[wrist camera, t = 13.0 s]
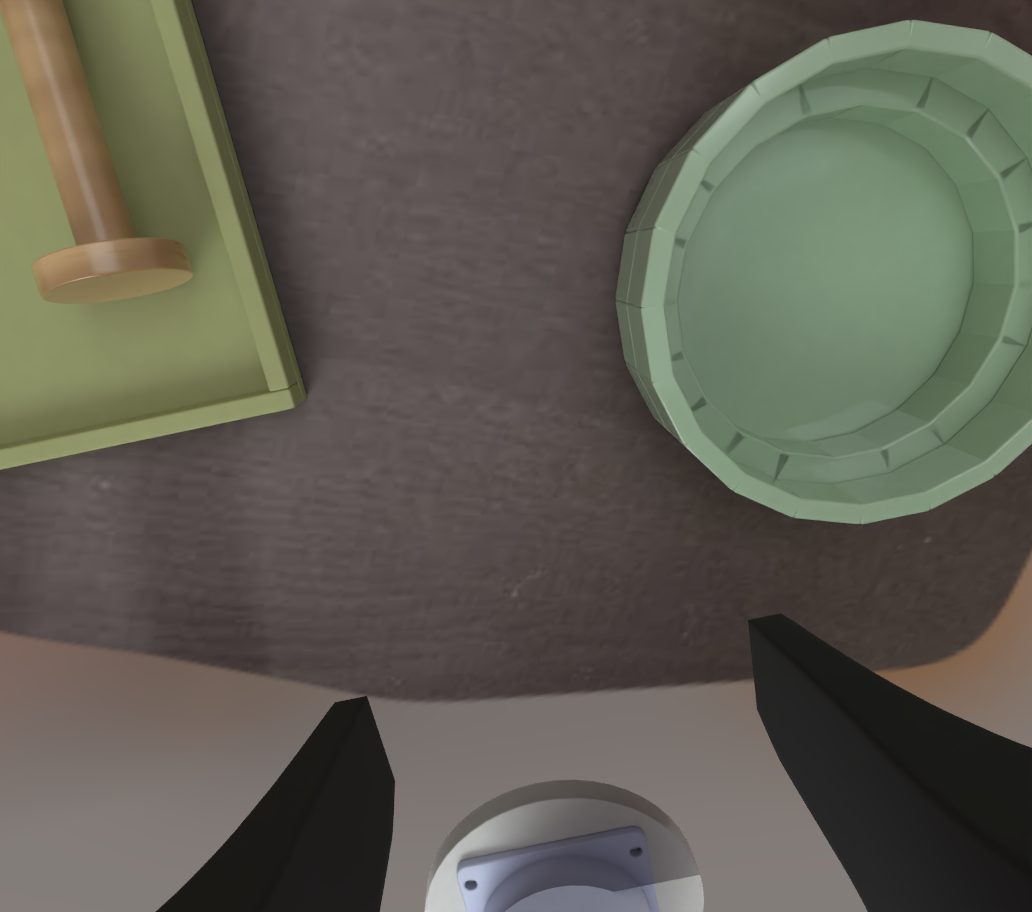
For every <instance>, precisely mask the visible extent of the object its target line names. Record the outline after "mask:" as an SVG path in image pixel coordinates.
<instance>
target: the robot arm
mask: <svg viewBox="0 0 1032 912" xmlns="http://www.w3.org/2000/svg"><path fill="white" fill-rule="evenodd" d="M748 623H749V633H750V643H751V653H752V663H753V673H754V683H755V691H756V703H757V710H758V712H759V715H760V717H761V719H762V722H763V724H764V726H765V729H766V731H767V733H768V735H769V738H770V740H771V742H772V744H773V747H774V749H775V751H776V753H777V755H778V757H779V759H780V761H781V763H782V765H783V767H784V768H785V770H786V772H787V774H788V775H789V777H790V779H791V780H792V782H793V783H794V785H795V787H796V789H797V790H798V792H799V794H800V795H801V797H802V799H803V801H804V802H805V804H806V806H807V807H808V809H809V810H810V812H811V814H812V815H813V817H814V819H815V820H816V822H817V824H818V825H819V827H820V829H821V830H822V832H823V834H824V835H825V837H826V839H827V840H828V842H829V844H830V845H831V847H832V849H833V850H834V852H835V854H836V855H837V857H838V859H839V860H840V862H841V864H842V865H843V867H844V869H845V870H846V872H847V874H848V875H849V877H850V879H851V881H852V883H853V884H854V886H855V888H856V890H857V892H858V894H859V896H860V897H861V899H862V901H863V903H864V905H865V906H866V909H867V911H868V912H1032V748H1030V747H1028V746H1025V745H1022V744H1020V743H1017V742H1015V741H1012V740H1010V739H1007V738H1005V737H1002V736H1000V735H997V734H995V733H993V732H990V731H988V730H986V729H984V728H982V727H979V726H977V725H975V724H973V723H970V722H968V721H966V720H964V719H962V718H959V717H957V716H955V715H953V714H951V713H948V712H946V711H944V710H942V709H940V708H938V707H936V706H934V705H932V704H930V703H928V702H926V701H924V700H923V699H921V698H919V697H917V696H915V695H913V694H911V693H910V692H907V691H906V690H904V689H902V688H900V687H898V686H896V685H895V684H893V683H891V682H889V681H888V680H886V679H884V678H882V677H881V676H879V675H877V674H875V673H874V672H872V671H870V670H869V669H867V668H865V667H864V666H862V665H860V664H859V663H857V662H855V661H854V660H852V659H851V658H849V657H847V656H846V655H844V654H843V653H841V652H839V651H838V650H836V649H835V648H833V647H832V646H830V645H829V644H827V643H825V642H824V641H822V640H821V639H819V638H818V637H816V636H815V635H813V634H812V633H810V632H809V631H807V630H806V629H804V628H803V627H801V626H800V625H798V624H796V623H795V622H793V621H792V620H790V619H789V618H787V617H786V616H784V615H782V614H777V615H771V616H766V617H761V618H756V619H751V620H748ZM394 788H395V780H394V777H393V774H392V771H391V768H390V764H389V762H388V759H387V755H386V752H385V749H384V747H383V744H382V741H381V738H380V734H379V731H378V728H377V725H376V722H375V719H374V716H373V713H372V710H371V707H370V705H369V701H368V698H367V696H365V697H360V698H355V699H350V700H345V701H340V702H335V703H334V704H333V706H332V707H331V708H330V710H329V711H328V712H327V714H326V715H325V716H324V718H323V719H322V720H321V722H320V723H319V725H318V726H317V727H316V729H315V730H314V731H313V733H312V734H311V736H310V737H309V738H308V739H307V741H306V742H305V744H304V745H303V746H302V748H301V749H300V751H299V752H298V753H297V754H296V756H295V757H294V758H293V760H292V761H291V762H290V764H289V765H288V766H287V768H286V769H285V770H284V772H283V773H282V774H281V776H280V777H279V778H278V779H277V781H276V782H275V784H274V785H273V786H272V787H271V789H270V790H269V791H268V792H267V793H266V795H265V796H264V797H263V798H262V799H261V801H260V802H259V803H258V804H257V805H256V807H255V808H254V809H253V810H252V811H251V813H250V814H249V815H248V816H247V817H246V819H245V820H244V821H243V822H242V823H241V825H240V826H239V827H238V829H237V830H236V831H235V832H234V833H233V834H232V835H231V836H230V838H229V839H228V840H227V841H226V842H225V843H224V844H223V845H222V847H221V848H220V849H219V850H218V851H217V852H216V853H215V854H214V855H213V856H212V857H211V858H210V859H209V860H208V862H207V863H205V865H204V866H203V867H202V868H201V869H200V870H199V871H198V872H197V873H196V874H195V875H194V876H193V877H192V878H191V879H190V880H189V881H188V882H187V883H186V884H185V885H184V886H183V887H182V888H181V889H180V890H179V891H178V892H177V893H176V894H175V895H174V896H172V898H170V899H169V900H168V901H167V902H166V903H165V904H164V905H163V906H162V907H161V908H159V909H158V910H157V911H156V912H380V906H381V901H382V895H383V889H384V883H385V877H386V871H387V865H388V859H389V853H390V846H391V841H392V832H393V816H394V792H395V791H394V790H395V789H394ZM634 847H639V848H637V849H632V848H634ZM457 880H458V883H459V887H460V890H461V894H462V897H463V901H464V904H465V908H466V911H467V912H659V906H658V901H657V895H656V890H655V885H654V879H653V874H652V869H651V863H650V858H649V853H648V847H647V842H646V837H645V834H644V832H643V830H642V829H641V828H640V827H637V826H630V827H625V828H620V829H615V830H610V831H605V832H600V833H595V834H590V835H585V836H580V837H575V838H570V839H565V840H560V841H555V842H550V843H545V844H540V845H535V846H530V847H525V848H520V849H515V850H510V851H505V852H500V853H495V854H490V855H485V856H480V857H475V858H470V859H465V860H463V861H461V862H460V863H459V864H458V866H457ZM468 880H474V881H473V882H469V881H468Z"/></svg>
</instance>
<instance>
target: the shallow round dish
mask: <svg viewBox="0 0 1032 912" xmlns="http://www.w3.org/2000/svg"><path fill="white" fill-rule="evenodd" d="M657 167H658V168H656V169H655V170H654V172H653V174H652V176H651V178H650V181H649V183H648V185H647V187H646V189H645V191H644V193H643V195H642V198H641V200H640V202H639V204H638V206H637V208H636V210H635V212H634V214H633V217H632V219H631V221H630V223H629V225H628V227H627V233H626V234H625V237H624V243H623V250H622V257H621V264H620V270H619V277H618V284H617V290H616V299H617V300H616V308H617V315H618V321H619V327H620V333H621V340H622V346H623V352H624V359H625V361H626V364H627V367H628V369H629V371H630V373H631V375H632V377H633V379H634V381H635V383H636V385H637V387H638V389H639V391H640V392H641V394H642V396H643V398H644V400H645V402H646V404H647V406H648V408H649V410H650V412H651V414H652V415H653V416H654V418H655V419H656V420H657V421H658V422H659V423H660V424H661V425H662V426H663V427H665V428H666V429H667V430H668V431H669V432H670V433H671V434H672V435H673V436H674V437H675V438H676V439H677V440H678V441H679V442H680V443H682V444H683V445H684V446H685V447H686V448H687V449H688V450H689V451H690V452H691V453H692V454H693V455H694V456H695V457H696V458H697V459H699V460H700V461H701V462H702V463H703V464H704V465H705V466H706V467H707V468H708V469H709V470H710V471H711V472H712V473H713V474H715V475H716V476H717V477H718V478H719V479H720V480H721V481H722V482H723V483H724V484H725V485H726V486H727V487H728V488H729V489H730V490H733V491H734V492H735V493H737V494H740V495H742V496H744V497H747V498H749V499H751V500H753V501H756V502H758V503H760V504H762V505H765V506H767V507H769V508H771V509H774V510H776V511H778V512H781V513H783V514H785V515H787V516H790V517H794V518H799V519H810V520H820V521H831V522H842V523H852V524H866V523H871V522H876V521H880V520H885V519H890V518H895V517H900V516H905V515H910V514H915V513H920V512H924V511H928V510H929V509H933V508H935V507H937V506H939V505H941V504H943V503H945V502H947V501H948V500H950V499H952V498H954V497H956V496H958V495H960V494H962V493H964V492H966V491H968V490H970V489H972V488H974V487H976V486H978V485H980V484H982V483H984V482H986V481H987V480H989V479H991V478H993V477H994V475H997V474H999V473H1000V472H1001V471H1002V470H1003V469H1004V468H1005V467H1006V466H1008V465H1009V464H1010V463H1011V462H1012V461H1013V460H1014V459H1015V458H1016V457H1018V456H1019V455H1020V454H1021V453H1022V452H1023V451H1024V450H1025V449H1026V448H1028V447H1029V446H1030V445H1031V444H1032V56H1031V55H1030V54H1028V53H1026V52H1025V51H1023V50H1021V49H1020V48H1018V47H1016V46H1015V45H1013V44H1011V43H1010V42H1008V41H1006V40H1005V39H1003V38H1001V37H999V36H998V35H996V34H994V33H990V32H989V31H986V30H979V29H972V28H966V27H959V26H952V25H946V24H939V23H932V22H926V21H919V20H904V21H899V22H895V23H890V24H885V25H881V26H876V27H871V28H867V29H862V30H857V31H853V32H848V33H843V34H839V35H834V36H830V37H828V38H827V39H823V40H821V41H819V42H818V43H816V44H814V45H813V46H811V47H809V48H807V49H806V50H804V51H802V52H801V53H799V54H797V55H796V56H794V57H792V58H791V59H789V60H787V61H786V62H784V63H782V64H781V65H779V66H777V67H775V68H774V69H772V70H770V71H769V72H767V73H765V74H764V75H762V76H760V77H759V78H757V79H755V80H754V81H752V82H751V83H749V84H748V85H746V86H744V87H743V88H741V89H740V90H738V91H737V92H735V93H734V94H732V95H731V96H729V97H728V98H726V99H725V100H723V101H722V102H720V103H719V104H717V105H716V106H714V107H713V108H711V109H710V110H708V111H707V112H706V113H705V114H703V115H702V116H701V117H700V119H699V120H698V121H697V122H696V123H695V124H694V125H693V126H692V127H691V129H690V130H689V131H688V132H687V133H686V134H685V135H684V136H683V137H682V139H681V140H680V141H679V142H678V143H677V144H676V145H675V146H674V147H673V149H672V150H671V151H670V152H669V153H668V154H667V155H666V156H665V157H664V159H663V160H662V161H661V162H660V163H659V164H658V166H657Z"/></svg>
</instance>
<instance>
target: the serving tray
mask: <svg viewBox="0 0 1032 912" xmlns="http://www.w3.org/2000/svg"><path fill="white" fill-rule="evenodd" d="M62 1H63V4H64V7H65V11H66V14H67V17H68V20H69V23H70V27H71V30H72V33H73V36H74V40H75V43H76V46H77V49H78V52H79V56H80V59H81V62H82V65H83V68H84V72H85V75H86V78H87V81H88V84H89V88H90V91H91V94H92V97H93V100H94V104H95V107H96V110H97V113H98V116H99V120H100V123H101V126H102V129H103V132H104V136H105V139H106V142H107V145H108V148H109V152H110V155H111V158H112V161H113V164H114V168H115V171H116V174H117V177H118V180H119V184H120V187H121V190H122V193H123V196H124V200H125V203H126V206H127V209H128V212H129V216H130V219H131V222H132V225H133V228H134V232H135V235H136V238H137V237H154V238H166V239H172V240H176V241H179V242H181V243H183V244H184V245H185V247H186V250H187V253H188V256H189V260H190V263H191V266H192V269H193V273H194V274H193V277H192V278H191V279H190V280H189V281H187V282H185V283H183V284H181V285H179V286H176V287H173V288H170V289H167V290H164V291H161V292H157V293H153V294H148V295H144V296H139V297H134V298H128V299H122V300H115V301H108V302H98V303H86V304H61V303H53V302H48V301H45V300H43V299H42V297H41V296H40V293H39V290H38V287H37V284H36V281H35V278H34V275H33V272H32V264H33V262H34V261H36V260H37V259H39V258H40V257H42V256H44V255H47V254H49V253H51V252H54V251H57V250H60V249H64V248H67V247H71V246H75V245H76V243H75V240H74V237H73V234H72V231H71V228H70V225H69V222H68V219H67V216H66V212H65V209H64V206H63V203H62V200H61V197H60V194H59V191H58V188H57V185H56V182H55V179H54V176H53V172H52V169H51V166H50V163H49V160H48V157H47V154H46V151H45V148H44V145H43V142H42V139H41V136H40V133H39V129H38V126H37V123H36V120H35V117H34V114H33V111H32V108H31V105H30V102H29V99H28V96H27V93H26V89H25V86H24V83H23V80H22V77H21V74H20V71H19V68H18V65H17V62H16V59H15V56H14V53H13V50H12V46H11V43H10V40H9V37H8V34H7V31H6V28H5V25H4V22H3V19H2V16H1V13H0V470H2V469H6V468H11V467H16V466H21V465H25V464H30V463H35V462H40V461H45V460H49V459H54V458H59V457H64V456H68V455H73V454H78V453H83V452H87V451H92V450H97V449H102V448H107V447H111V446H116V445H121V444H126V443H130V442H135V441H140V440H145V439H150V438H154V437H159V436H164V435H169V434H173V433H178V432H183V431H188V430H193V429H197V428H202V427H207V426H212V425H216V424H221V423H226V422H231V421H236V420H240V419H245V418H250V417H255V416H259V415H264V414H269V413H274V412H279V411H283V410H288V409H293V408H295V407H296V406H297V405H299V404H300V403H301V402H303V401H304V400H305V399H307V395H306V392H305V388H304V385H303V381H302V378H301V375H300V371H299V368H298V364H297V361H296V358H295V354H294V351H293V347H292V344H291V340H290V337H289V334H288V330H287V327H286V323H285V320H284V316H283V313H282V310H281V306H280V303H279V299H278V296H277V293H276V289H275V286H274V282H273V279H272V275H271V272H270V269H269V265H268V262H267V258H266V255H265V252H264V248H263V245H262V241H261V238H260V234H259V231H258V228H257V224H256V221H255V217H254V214H253V211H252V207H251V204H250V200H249V197H248V193H247V190H246V187H245V183H244V180H243V176H242V173H241V170H240V166H239V163H238V159H237V156H236V152H235V149H234V146H233V142H232V139H231V135H230V132H229V129H228V125H227V122H226V118H225V115H224V111H223V108H222V105H221V101H220V98H219V94H218V91H217V87H216V84H215V81H214V77H213V74H212V70H211V67H210V64H209V60H208V57H207V53H206V50H205V46H204V43H203V40H202V36H201V33H200V29H199V26H198V23H197V19H196V16H195V12H194V9H193V5H192V2H191V0H62Z"/></svg>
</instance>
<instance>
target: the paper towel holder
mask: <svg viewBox="0 0 1032 912" xmlns="http://www.w3.org/2000/svg"><path fill="white" fill-rule="evenodd" d="M0 13H1V16H2V19H3V22H4V25H5V28H6V31H7V34H8V37H9V40H10V43H11V46H12V50H13V53H14V56H15V59H16V62H17V65H18V68H19V71H20V74H21V77H22V80H23V83H24V86H25V89H26V93H27V96H28V99H29V102H30V105H31V108H32V111H33V114H34V117H35V120H36V123H37V126H38V129H39V133H40V136H41V139H42V142H43V145H44V148H45V151H46V154H47V157H48V160H49V163H50V166H51V169H52V172H53V176H54V179H55V182H56V185H57V188H58V191H59V194H60V197H61V200H62V203H63V206H64V209H65V212H66V216H67V219H68V222H69V225H70V228H71V231H72V234H73V237H74V240H75V243H76V245H75V246H71V247H67V248H64V249H60V250H57V251H54V252H51V253H49V254H47V255H44V256H42V257H40V258H39V259H37V260H36V261H34V262H33V264H32V272H33V275H34V278H35V281H36V284H37V287H38V290H39V293H40V296H41V297H42V299H43V300H45V301H48V302H53V303H61V304H86V303H98V302H108V301H115V300H122V299H128V298H134V297H139V296H144V295H148V294H153V293H157V292H161V291H164V290H167V289H170V288H173V287H176V286H179V285H181V284H183V283H185V282H187V281H189V280H190V279H191V278H192V277H193V274H194V273H193V269H192V266H191V263H190V260H189V256H188V253H187V250H186V247H185V245H184V244H183V243H181V242H179V241H176V240H172V239H166V238H154V237H137V238H136V235H135V232H134V228H133V225H132V222H131V219H130V216H129V212H128V209H127V206H126V203H125V200H124V196H123V193H122V190H121V187H120V184H119V180H118V177H117V174H116V171H115V168H114V164H113V161H112V158H111V155H110V152H109V148H108V145H107V142H106V139H105V136H104V132H103V129H102V126H101V123H100V120H99V116H98V113H97V110H96V107H95V104H94V100H93V97H92V94H91V91H90V88H89V84H88V81H87V78H86V75H85V72H84V68H83V65H82V62H81V59H80V56H79V52H78V49H77V46H76V43H75V40H74V36H73V33H72V30H71V27H70V23H69V20H68V17H67V14H66V11H65V7H64V4H63V1H62V0H0Z"/></svg>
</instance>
